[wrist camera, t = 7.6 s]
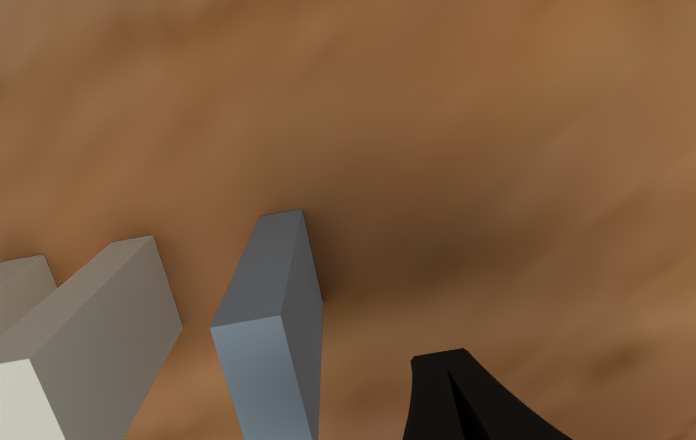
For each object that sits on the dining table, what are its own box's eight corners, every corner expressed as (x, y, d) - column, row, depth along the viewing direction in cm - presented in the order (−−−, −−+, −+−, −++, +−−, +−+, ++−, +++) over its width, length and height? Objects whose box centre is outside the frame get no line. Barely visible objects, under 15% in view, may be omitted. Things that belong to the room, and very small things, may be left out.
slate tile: (301, 208, 21) (280, 315, 12) (323, 304, 22) (317, 459, 14) (260, 216, 21) (210, 327, 12) (284, 311, 22) (254, 469, 14)
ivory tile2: (152, 235, 21) (28, 358, 12) (183, 327, 22) (90, 496, 14) (111, 242, 21) (-40, 370, 12) (144, 334, 22) (29, 506, 14)
